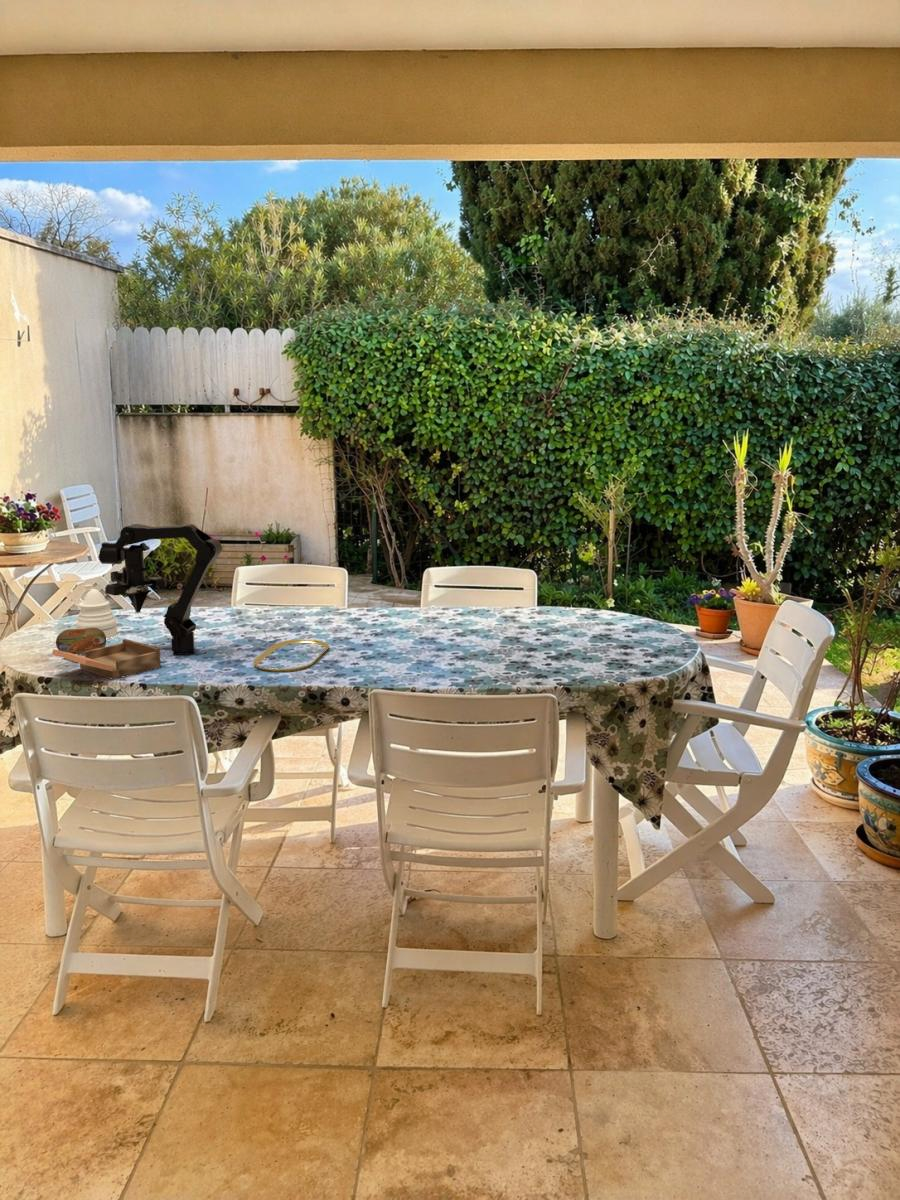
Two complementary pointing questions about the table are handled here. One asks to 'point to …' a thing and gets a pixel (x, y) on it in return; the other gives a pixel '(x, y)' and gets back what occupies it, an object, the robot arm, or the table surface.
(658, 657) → the table surface
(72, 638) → the tin
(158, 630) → the table surface
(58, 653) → the tailgate
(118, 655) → the brown shallow open box
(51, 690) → the table surface
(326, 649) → the oval ring
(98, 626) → the honey pot
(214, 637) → the table surface
